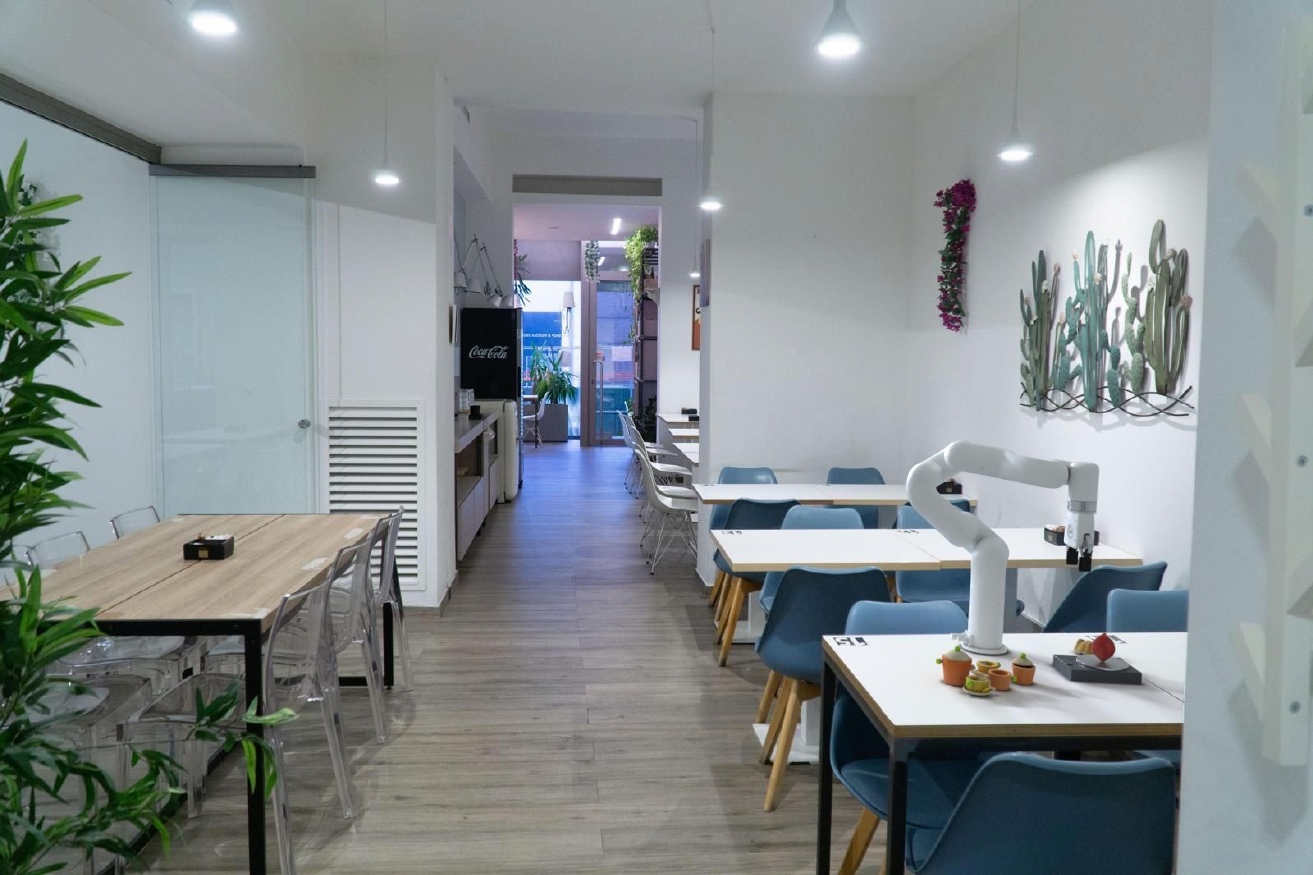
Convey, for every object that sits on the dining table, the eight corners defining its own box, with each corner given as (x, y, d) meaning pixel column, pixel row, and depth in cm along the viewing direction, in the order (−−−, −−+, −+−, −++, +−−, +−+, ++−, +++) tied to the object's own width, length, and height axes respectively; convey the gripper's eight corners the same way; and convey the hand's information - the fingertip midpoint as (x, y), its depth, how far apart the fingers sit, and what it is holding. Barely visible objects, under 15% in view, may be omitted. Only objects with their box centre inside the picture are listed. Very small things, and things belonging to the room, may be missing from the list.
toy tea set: (977, 700, 240) (979, 661, 239) (928, 682, 253) (930, 644, 252) (1045, 685, 254) (1048, 648, 253) (996, 668, 267) (998, 633, 266)
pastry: (1114, 656, 283) (1115, 643, 282) (1104, 661, 278) (1105, 647, 278) (1081, 649, 289) (1081, 636, 289) (1071, 653, 284) (1072, 640, 284)
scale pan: (1086, 669, 258) (1086, 667, 258) (1068, 655, 271) (1068, 653, 271) (1137, 672, 257) (1137, 670, 257) (1117, 657, 270) (1117, 655, 270)
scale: (1070, 680, 258) (1071, 668, 258) (1052, 665, 272) (1053, 653, 272) (1141, 684, 257) (1142, 672, 257) (1119, 668, 271) (1120, 657, 271)
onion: (1086, 658, 267) (1088, 629, 266) (1106, 658, 267) (1108, 629, 267) (1097, 664, 261) (1099, 634, 261) (1118, 664, 262) (1120, 635, 261)
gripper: (1057, 502, 283) (1053, 561, 284) (1079, 510, 265) (1075, 573, 266) (1084, 503, 282) (1080, 562, 283) (1108, 511, 265) (1104, 575, 266)
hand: (1078, 568), depth 275 cm, fingers open, 9 cm apart
